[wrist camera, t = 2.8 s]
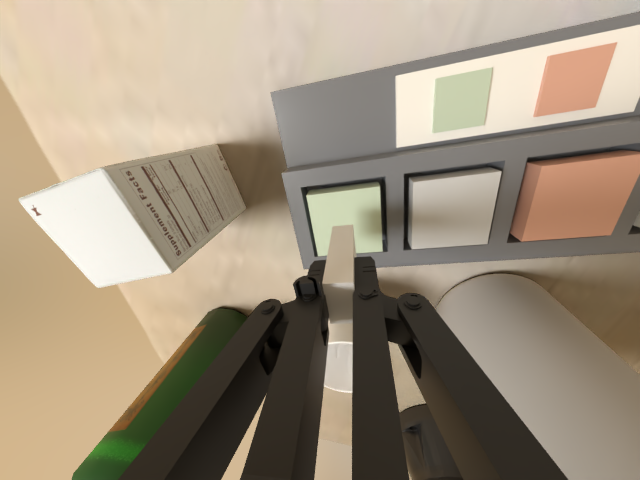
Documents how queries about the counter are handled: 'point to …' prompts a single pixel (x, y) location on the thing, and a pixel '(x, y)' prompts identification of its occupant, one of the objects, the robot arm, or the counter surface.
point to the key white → (637, 221)
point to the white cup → (339, 358)
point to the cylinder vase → (551, 374)
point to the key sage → (347, 215)
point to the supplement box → (139, 213)
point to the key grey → (452, 208)
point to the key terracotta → (574, 195)
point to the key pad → (468, 133)
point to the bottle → (160, 397)
